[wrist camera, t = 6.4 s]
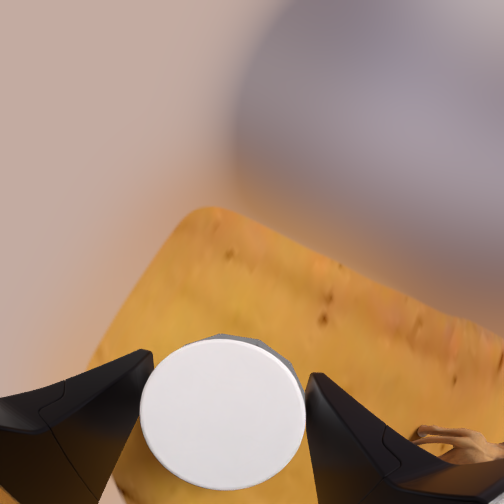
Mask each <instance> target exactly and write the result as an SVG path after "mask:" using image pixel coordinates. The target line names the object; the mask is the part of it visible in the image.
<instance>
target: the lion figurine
mask: <svg viewBox="0 0 504 504" xmlns="http://www.w3.org/2000/svg"><path fill="white" fill-rule="evenodd" d="M427 434H430V435H439V436H436V437H427V438H422V439H418V440H415V441H411V442H412V443H414V444H415V445H420V444H426V443H445V444H451V445H453V447H454V448H453V449H451V450H449V451H448V452H446V453H445V454H443V455H441V456H439V457H438V458H440V459H442V460H444V461H446V462H448V463H452V464H460V465H461V464H472V463H480V462H487V461H493V460H498V459H503V458H504V442H503V443H499V444H493V443H489V442H487V441H486V439H485V437H484V436H483V435H482V434H481V433H480V432H476V431H473V430H469V429H465V428H460V429H449V428H442V427H438V426H435V425H433V426H426V425H421V426H420V427H419V429H418V435H419V436H420V437H425V436H426V435H427Z"/></svg>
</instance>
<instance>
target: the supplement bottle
mask: <svg viewBox="0 0 504 504" xmlns="http://www.w3.org/2000/svg"><path fill="white" fill-rule="evenodd" d="M139 414H140V424H141V428H142V432H143V435H144V438H145V440H146V443H147V445H148V446H149V448H150V450H151V452H152V453H153V455H154V456H155V457H156V459H157V460H158V461H159V462H160V463H161V464H162V465H163V466H164V467H165V468H166V469H168V470H169V471H170V472H171V473H173V474H174V475H176V476H177V477H179V478H180V479H182V480H184V481H186V482H188V483H191V484H193V485H196V486H199V487H202V488H206V489H213V490H238V489H244V488H248V487H252V486H254V485H257V484H260V483H262V482H264V481H266V480H268V479H270V478H271V477H273V476H274V475H276V474H277V473H278V472H279V471H281V470H282V469H283V468H284V467H285V466H286V465H287V464H288V462H289V461H290V460H291V459H292V458H293V456H294V455H295V453H296V451H297V450H298V448H299V446H300V443H301V440H302V437H303V434H304V430H305V421H306V412H305V404H304V399H303V396H302V393H301V390H300V387H299V385H298V383H297V381H296V379H295V378H294V376H293V375H292V373H291V372H290V370H289V369H288V368H287V367H286V366H285V365H284V364H283V363H282V362H281V361H280V360H279V359H278V358H276V357H275V356H274V355H272V354H271V353H269V352H267V351H266V350H264V349H262V348H260V347H257V346H255V345H252V344H249V343H246V342H241V341H236V340H230V339H211V340H203V341H199V342H195V343H192V344H189V345H186V346H184V347H182V348H180V349H178V350H176V351H174V352H173V353H171V354H170V355H168V356H167V357H166V358H165V359H164V360H162V361H161V362H160V363H159V364H158V365H157V367H156V368H155V369H154V371H153V372H152V373H151V375H150V377H149V378H148V380H147V382H146V384H145V386H144V389H143V392H142V396H141V401H140V412H139Z"/></svg>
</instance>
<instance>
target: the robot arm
mask: <svg viewBox="0 0 504 504" xmlns="http://www.w3.org/2000/svg"><path fill="white" fill-rule="evenodd" d="M153 371H154V364H153V354H152V352H151V351H148V350H144V349H139V350H137V351H135V352H132V353H130V354H128V355H125V356H123V357H120V358H118V359H116V360H113V361H111V362H108V363H106V364H104V365H101V366H99V367H96V368H94V369H91V370H89V371H86V372H84V373H81V374H79V375H76V376H74V377H71V378H68V379H66V380H63V381H60V382H58V383H55V384H52V385H50V386H47V387H43V388H40V389H36V390H33V391H29V392H24V393H20V394H16V395H11V396H7V397H2V398H0V504H98V503H99V502H98V501H99V500H100V498H101V496H102V493H103V491H104V489H105V487H106V484H107V482H108V480H109V478H110V476H111V473H112V471H113V469H114V467H115V465H116V463H117V460H118V458H119V456H120V454H121V452H122V450H123V448H124V446H125V443H126V441H127V439H128V437H129V435H130V433H131V431H132V429H133V427H134V425H135V423H136V421H137V418H138V416H139V412H140V401H141V396H142V392H143V389H144V386H145V384H146V382H147V380H148V378H149V377H150V375H151V373H152V372H153ZM305 412H306V432H307V439H308V444H309V450H310V456H311V462H312V468H313V473H314V479H315V485H316V492H317V498H318V504H504V458H503V459H498V460H493V461H487V462H480V463H472V464H461V465H460V464H452V463H448V462H446V461H444V460H442V459H440V458H438V457H436V456H434V455H433V454H431V453H429V452H427V451H425V450H424V449H422V448H420V447H419V446H417V445H415V444H414V443H412V442H410V441H409V440H407V439H406V438H404V437H403V436H401V435H400V434H399V433H397V432H396V431H394V430H393V429H392V428H391V427H389V426H388V425H386V424H385V423H384V422H383V421H381V420H380V419H379V418H378V417H376V416H375V415H374V414H373V413H371V412H370V411H369V410H368V409H366V408H365V407H364V406H363V405H361V404H360V403H359V402H358V401H356V400H355V399H354V398H353V397H352V396H350V395H349V394H348V393H347V392H345V391H344V390H343V389H342V388H341V387H339V386H338V385H337V384H336V383H335V382H333V381H332V380H331V379H330V378H329V377H327V376H326V375H325V374H324V373H316V372H313V373H311V374H310V377H309V380H308V384H307V387H306V390H305Z"/></svg>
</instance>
